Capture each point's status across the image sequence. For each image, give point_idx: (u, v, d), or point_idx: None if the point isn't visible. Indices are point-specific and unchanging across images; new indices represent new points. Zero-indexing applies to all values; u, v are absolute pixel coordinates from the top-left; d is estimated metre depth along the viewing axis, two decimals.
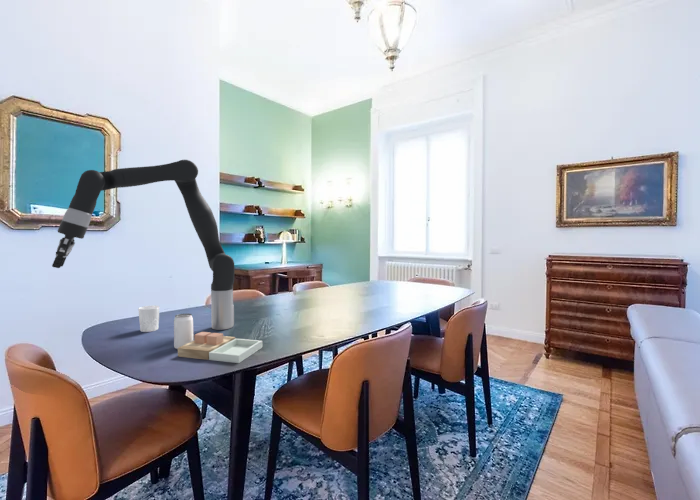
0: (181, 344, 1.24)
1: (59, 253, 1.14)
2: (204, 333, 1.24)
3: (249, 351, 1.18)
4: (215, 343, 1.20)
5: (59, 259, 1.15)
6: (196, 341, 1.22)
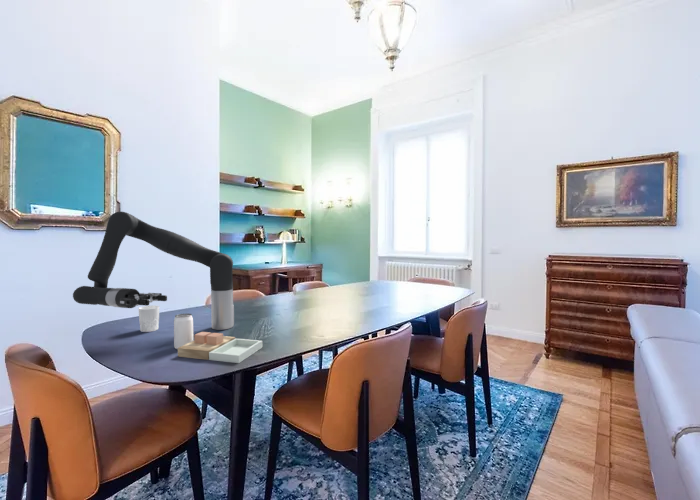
0: (181, 344, 1.24)
1: (131, 304, 1.23)
2: (204, 333, 1.24)
3: (249, 351, 1.18)
4: (215, 343, 1.20)
5: (139, 302, 1.24)
6: (196, 341, 1.22)
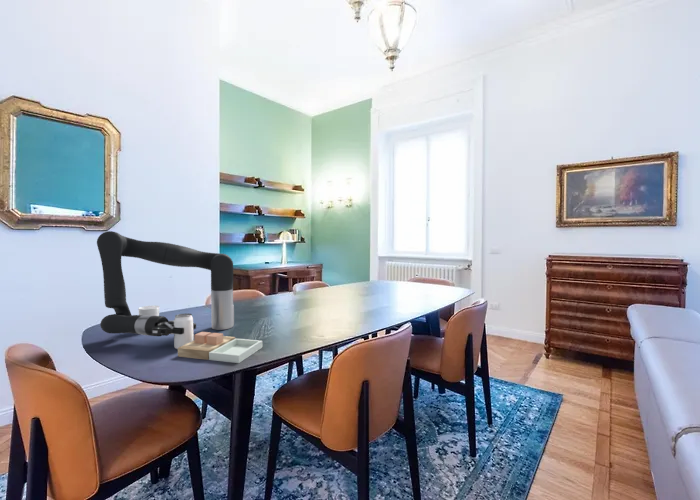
0: (181, 344, 1.24)
1: (166, 333, 1.21)
2: (204, 333, 1.24)
3: (249, 351, 1.18)
4: (215, 343, 1.20)
5: (174, 330, 1.23)
6: (196, 341, 1.22)
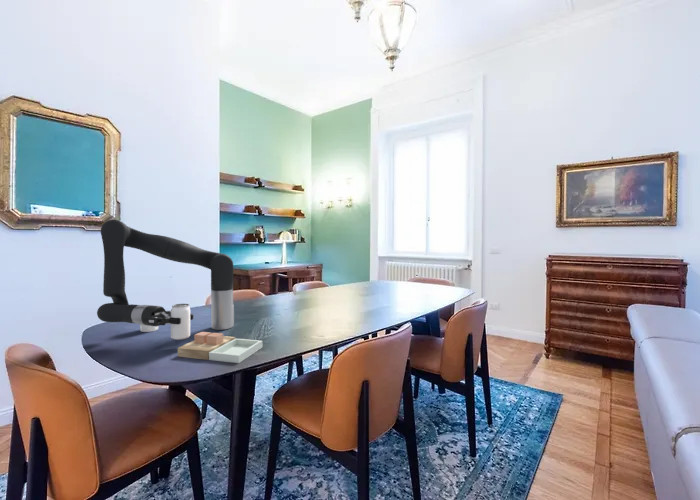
0: (178, 334, 1.22)
1: (162, 322, 1.20)
2: (204, 333, 1.24)
3: (249, 351, 1.18)
4: (215, 343, 1.20)
5: (171, 320, 1.21)
6: (196, 341, 1.22)
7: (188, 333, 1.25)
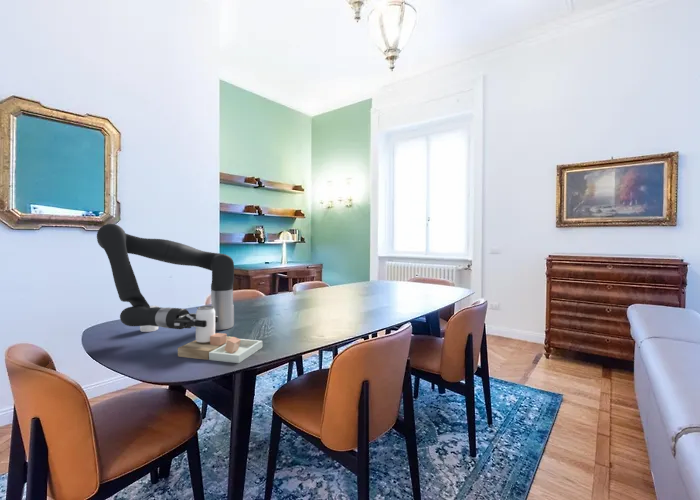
0: (203, 337, 1.20)
1: (188, 325, 1.18)
2: (219, 334, 1.23)
3: (249, 351, 1.18)
4: (226, 349, 1.19)
5: (196, 323, 1.19)
6: (212, 342, 1.20)
7: None
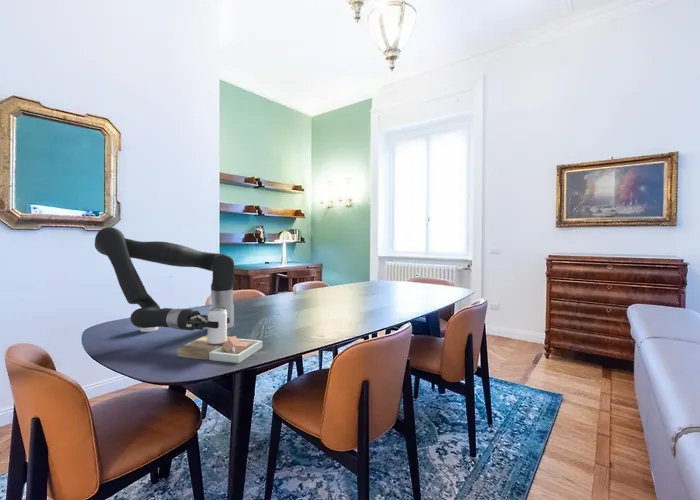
0: (215, 338, 1.19)
1: (200, 327, 1.17)
2: None
3: (249, 351, 1.18)
4: (235, 346, 1.19)
5: (208, 324, 1.18)
6: (227, 350, 1.19)
7: (225, 337, 1.21)
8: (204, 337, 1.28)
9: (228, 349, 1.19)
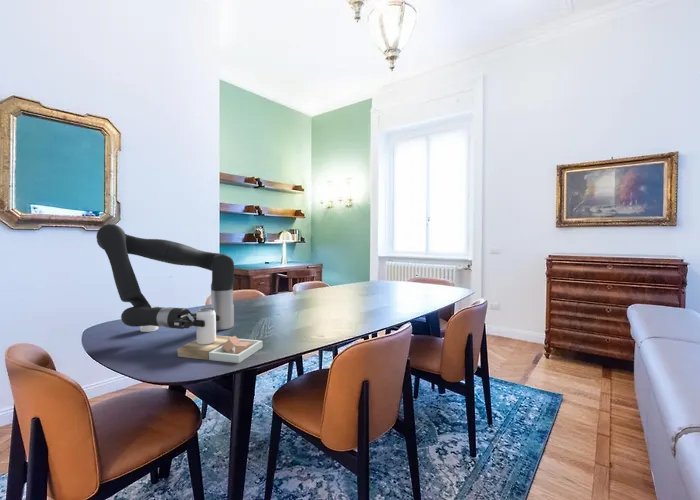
0: (204, 339, 1.20)
1: (186, 325, 1.17)
2: None
3: (249, 351, 1.18)
4: (235, 346, 1.19)
5: (195, 323, 1.18)
6: (227, 349, 1.19)
7: (214, 338, 1.22)
8: None
9: (228, 349, 1.19)
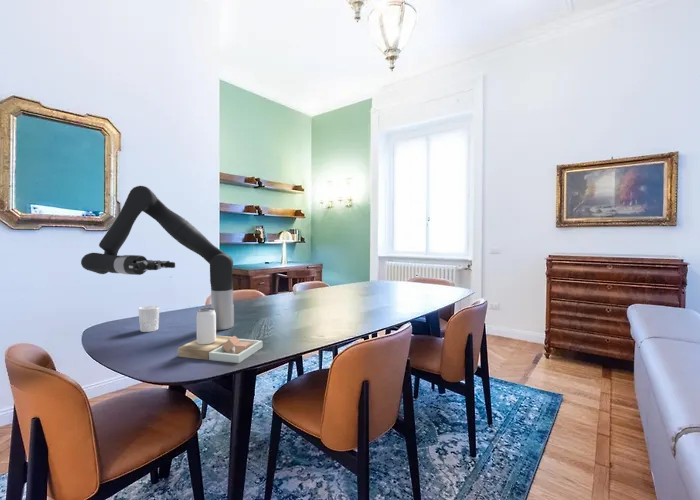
0: (204, 339, 1.20)
1: (139, 268, 1.23)
2: None
3: (249, 351, 1.18)
4: (235, 346, 1.19)
5: (148, 266, 1.24)
6: (227, 349, 1.19)
7: (214, 338, 1.22)
8: None
9: (228, 349, 1.19)
